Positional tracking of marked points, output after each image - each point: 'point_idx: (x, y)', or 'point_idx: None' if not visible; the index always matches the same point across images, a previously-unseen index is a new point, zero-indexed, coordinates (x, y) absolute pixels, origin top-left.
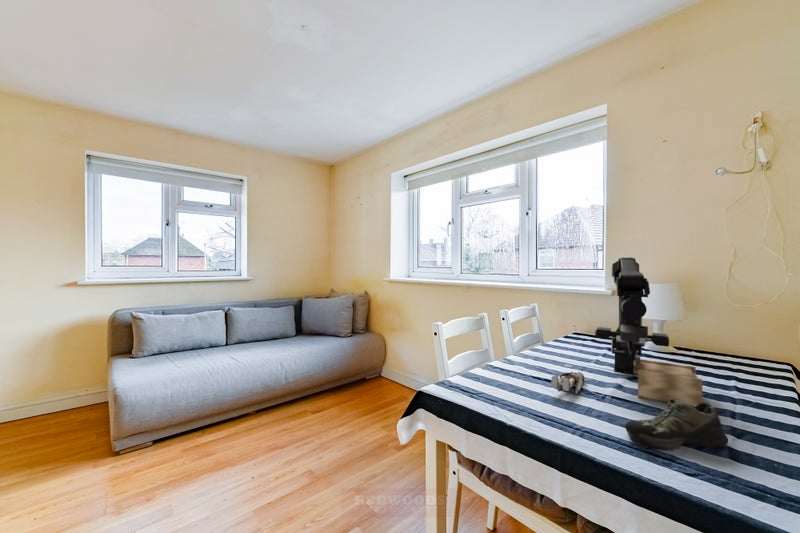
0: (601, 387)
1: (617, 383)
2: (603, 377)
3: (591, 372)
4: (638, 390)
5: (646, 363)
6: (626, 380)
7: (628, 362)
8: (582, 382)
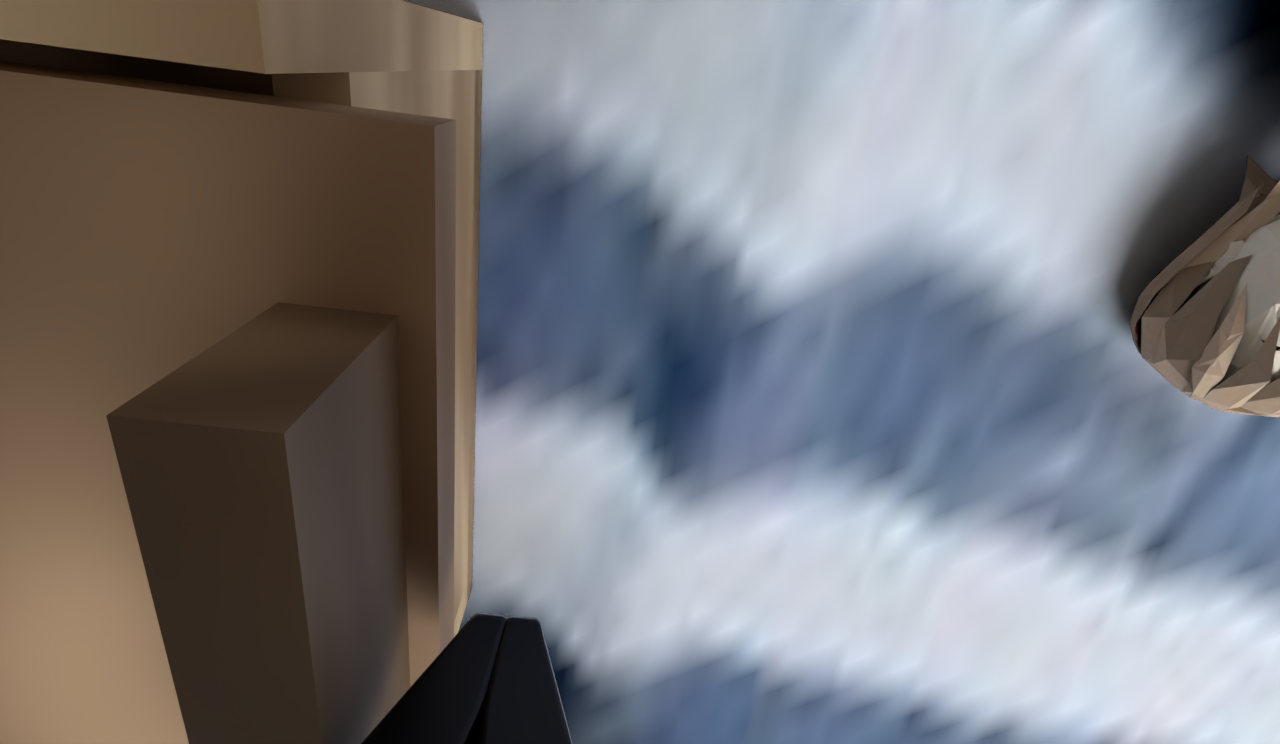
0: (919, 236)
1: (689, 491)
2: (813, 617)
3: (910, 710)
4: (449, 18)
5: None
6: (583, 628)
7: (538, 629)
8: (1174, 261)
